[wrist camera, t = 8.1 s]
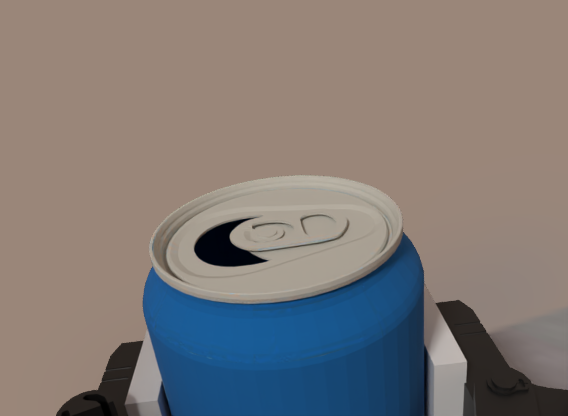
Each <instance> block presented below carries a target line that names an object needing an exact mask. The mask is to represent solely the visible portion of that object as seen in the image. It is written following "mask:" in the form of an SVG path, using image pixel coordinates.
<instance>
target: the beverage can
mask: <svg viewBox="0 0 568 416" xmlns="http://www.w3.org/2000/svg"><path fill="white" fill-rule="evenodd" d="M149 253H150V258H151V262H152V268H151V270H150V272H149V275H148V278H147V281H146V283H145V288H144V295H143V311H144V317H145V321H146V324H147V328H148V332H149V335H150V339H151V343H152V346H153V350H154V353H155V357H156V361H157V364H158V368H159V371H160V375H161V379H162V382H163V386H164V390H165V393H166V397H167V400H168V404H169V408H170V411H171V415H172V416H424V270H423V267H422V264H421V260H420V257H419V255H418V253H417V251H416V249H415V247H414V245H413V244H412V242H411V241H410V239H409V238H408V237H407V236H406V235H405V234H404V232H403V217H402V213H401V210H400V209H399V207H398V206H397V204H396V203H395V202H394V201H393V200H392V199H391V198H390V197H389V196H387V195H386V194H385V193H383V192H381V191H379V190H378V189H376V188H374V187H371V186H368V185H366V184H363V183H360V182H356V181H352V180H348V179H343V178H336V177H327V176H308V175H305V176H304V175H303V176H283V177H272V178H265V179H259V180H253V181H249V182H244V183H239V184H235V185H232V186H228V187H225V188H222V189H219V190H216V191H213V192H211V193H208V194H205V195H203V196H201V197H199V198H197V199H195V200H192V201H190V202H189V203H187V204H185V205H184V206H182V207H180V208H179V209H177V210H176V211H174V212H173V213H172V214H170V215H169V216H168V217H167V218H166V219H164V221H163V222H162V223H161V224H160V225H159V226H158V227H157V229H156V230H155V232H154V233H153V236H152V238H151V240H150V246H149Z"/></svg>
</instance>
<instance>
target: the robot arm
mask: <svg viewBox="0 0 568 416" xmlns="http://www.w3.org/2000/svg"><path fill="white" fill-rule="evenodd" d="M56 416H172V415H171V411H170V408H169V404H168V400H167V397H166V393H165V390H164V386H163V382H162V379H161V375H160V371H159V368H158V364H157V361H156V357H155V353H154V350H153V346H152V343H151V339H150V335H149V332H148V328H147V331H146V334H145V338H144V341H137V342H129V343H122V344H121V345H120V346H119V347H118V348H117V349H116V350H115V352H114V353H113V354H112V355H111V356H110V359H109V361H108V364H107V367H106V372H104V375H103V378H102V383H100V386H99V388H98V390H92V391H87V392H83V393H81V394H79V395H77V396H75V397H73V398H71V399H70V400H69V401H67V402H66V403H65V404H64V405H63V406H62V407H61V408H60V410H59V411H58V412H57V414H56ZM424 416H568V390H562V389H554V388H546V387H541V386H537V385H534V384H532V383H531V381H530V380H529V379H528V378H527V377H526V376H525V375H524V374H523V373H521V372H519V371H517V370H515V369H513V368H510V367H509V366H508V364H507V363H506V361H505V359H504V358H503V356H502V355H501V353H500V352H499V350H498V349H497V347H496V345H495V344H494V342H493V341H492V339H491V338H490V336H489V334H488V333H486V330H485V328H484V327H483V325H482V324H480V320H479V319H478V317H477V316H476V314H475V313H474V311H473V310H472V309H471V308H470V307H468V306H467V305H465V304H464V303H462V302H461V301H459V300H456V301H448V302H440V303H435V302H434V300H433V298H432V296H431V294H430V292H429V291H428V289H427V287H426V285H425V284H424Z"/></svg>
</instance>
